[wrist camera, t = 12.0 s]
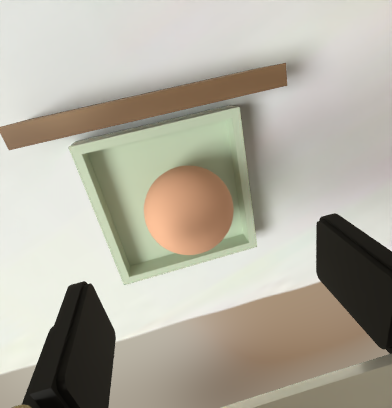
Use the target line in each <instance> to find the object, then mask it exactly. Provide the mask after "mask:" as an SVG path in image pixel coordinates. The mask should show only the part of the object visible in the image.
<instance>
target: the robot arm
mask: <svg viewBox="0 0 392 408" xmlns="http://www.w3.org/2000/svg"><path fill="white" fill-rule="evenodd" d="M316 272H317V276H318V278H319V279H320V281H321V282H322V283H323V284H324V285H325V286H326V287H327V289H328V290H329V291H330V292H331V293H332V294H333V295H334V297H335V298H336V299H337V300H338V301H339V302H340V303H341V304H342V306H343V307H344V308H345V309H346V310H347V311H348V312H349V313H350V315H351V316H352V317H353V318H354V319H355V320H356V321H357V323H358V324H359V325H360V326H361V327H362V328H363V329H364V330H365V331H366V333H367V334H368V335H369V336H370V337H371V338H372V339H373V341H374V342H375V343H376V344H377V345H378V346H379V347H380V348H382V349H386V350H387V351H388V352H389V353H390V354H389V355H386V356H382V357H379V358H376V359H373V360H369V361H367V362H363V363H360V364H357V365H354V366H351V367H347V368H344V369H341V370H337V371H334V372H331V373H328V374H325V375H321V376H318V377H315V378H312V379H309V380H306V381H302V382H299V383H296V384H293V385H290V386H287V387H284V388H281V389H277V390H274V391H271V392H268V393H265V394H262V395H259V396H255V397H252V398H249V399H246V400H243V401H240V402H237V403H234V404H231V405H227V406H224V407H222V408H392V251H390V250H389V249H387V248H386V247H384V246H383V245H381V244H380V243H379V242H377V241H376V240H374V239H373V238H371V237H370V236H368V235H367V234H365V233H364V232H363V231H361V230H360V229H358V228H357V227H355V226H354V225H352V224H351V223H350V222H348V221H347V220H345V219H344V218H342V217H341V216H339V215H338V214H336V213H334V214H330V215H326V216H323V217H321V218H320V221H318V222H317V240H316ZM115 340H116V337H115V331H114V328H113V326H112V324H111V322H110V320H109V318H108V316H107V314H106V312H105V310H104V308H103V306H102V304H101V302H100V299H99V297H98V295H97V293H96V291H95V289H94V287H93V285H92V284H87V283H86V282H85V281H84V282H80V283H76V284H73V285H70V286H69V287H68V289H67V291H66V294H65V297H64V300H63V302H62V305H61V308H60V311H59V314H58V316H57V319H56V322H55V325H54V326H53V327H52V328H51V329H50V331H49V333H48V336H47V338H46V341H45V344H44V346H43V349H42V352H41V354H40V357H39V360H38V363H37V365H36V368H35V371H34V373H33V376H32V379H31V381H30V384H29V387H28V389H27V392H26V395H25V397H24V400H23V403H22V405H18V406H14V407H12V408H108V406H109V396H110V387H111V377H112V368H113V358H114V349H115Z"/></svg>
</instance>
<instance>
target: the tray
mask: <svg viewBox="0 0 392 408" xmlns="http://www.w3.org/2000/svg"><path fill="white" fill-rule="evenodd" d="M68 148H69V150H70V153H71V155H72V158H73V160H74V162H75V165H76V167H77V170H78V172H79V175H80V177H81V180H82V182H83V185H84V187H85V190H86V192H87V195H88V197H89V200H90V202H91V205H92V207H93V209H94V212H95V214H96V217H97V219H98V222H99V224H100V227H101V229H102V232H103V234H104V237H105V239H106V242H107V244H108V247H109V249H110V252H111V254H112V256H113V259H114V261H115V264H116V266H117V269H118V271H119V274H120V276H121V279H122V281H123V284H124V285H127V284H130V283H134V282H137V281H140V280H144V279H147V278H151V277H154V276H158V275H161V274H165V273H168V272H171V271H175V270H178V269H182V268H185V267H189V266H192V265H196V264H199V263H203V262H206V261H209V260H213V259H216V258H220V257H223V256H227V255H230V254H234V253H237V252H241V251H244V250H247V249H251V248H254V247H257V242H256V234H255V226H254V218H253V210H252V202H251V194H250V186H249V178H248V170H247V162H246V154H245V146H244V138H243V130H242V122H241V114H240V107H238V106H231V105H229V106H224V107H220V108H216V109H212V110H207V111H203V112H199V113H195V114H190V115H186V116H182V117H178V118H173V119H169V120H165V121H161V122H156V123H152V124H148V125H144V126H139V127H135V128H131V129H127V130H122V131H118V132H114V133H110V134H105V135H101V136H97V137H93V138H88V139H84V140H80V141H76V142H74V143H73V144H72V145H71V146H69V147H68ZM186 165H187V166H199V167H202V168H205V169H207V170H209V171H211V172H213V173H214V174H216V175H217V176H218V177H219V178H220V179H221V180H222V181H223V182H224V183H225V185H226V186H227V188H228V190H229V192H230V194H231V197H232V201H233V208H234V212H233V220H232V224H231V227H230V229H229V231H228V233H227V234H226V236H225V237H224V239H223V240H222V241H221V242H220V243H219V244H218V245H216V246H215V247H214V248H212V249H211V250H209V251H207V252H204V253H200V254H196V255H181V254H177V253H174V252H171V251H169V250H167V249H165V248H164V247H162V246H161V245H160V244H159V243H157V242H156V240H155V239H154V238H153V237H152V235H151V234H150V232H149V230H148V228H147V225H146V222H145V218H144V203H145V198H146V195H147V193H148V191H149V188H150V187H151V185H152V184H153V183H154V181H155V180H156V179H157V178H158V177H159V176H160V175H162V174H163V173H165V172H166V171H168V170H170V169H173V168H175V167H179V166H186Z"/></svg>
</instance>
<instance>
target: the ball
mask: <svg viewBox="0 0 392 408" xmlns="http://www.w3.org/2000/svg"><path fill="white" fill-rule="evenodd" d="M233 212H234V208H233V201H232V197H231V194H230V192H229V190H228V188H227V186H226V185H225V183H224V182H223V181H222V180H221V179H220V178H219V177H218V176H217V175H216V174H214V173H213V172H211V171H209V170H207V169H205V168H202V167H199V166H187V165H186V166H179V167H175V168H173V169H170V170H168V171H166V172H165V173H163V174H162V175H160V176H159V177H158V178H157V179H156V180H155V181H154V183H153V184H152V185H151V187H150V188H149V191H148V193H147V195H146V198H145V203H144V218H145V222H146V225H147V228H148V230H149V232H150V234H151V235H152V237H153V238H154V239H155V240H156V242H157V243H159V244H160V245H161V246H162V247H164V248H165V249H167V250H169V251H171V252H174V253H177V254H181V255H196V254H200V253H204V252H207V251H209V250H211V249H212V248H214V247H215V246H216V245H218V244H219V243H220V242H221V241H222V240H223V239H224V237H225V236H226V234H227V233H228V231H229V229H230V227H231V224H232V220H233Z"/></svg>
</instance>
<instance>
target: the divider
mask: <svg viewBox="0 0 392 408" xmlns="http://www.w3.org/2000/svg"><path fill="white" fill-rule="evenodd" d="M283 86H287V74H286V63H283V64H278V65H273V66H267V67H262V68H257V69H252V70H248V71H243V72H239V73H234V74H230V75H225V76H221V77H216V78H212V79H208V80H203V81H199V82H194V83H190V84H185V85H181V86H176V87H172V88H167V89H163V90H158V91H154V92H149V93H145V94H140V95H136V96H132V97H127V98H123V99H118V100H114V101H109V102H105V103H100V104H96V105H91V106H87V107H82V108H78V109H73V110H69V111H65V112H60V113H56V114H51V115H47V116H42V117H38V118H33V119H29V120H25V121H21V122H17V123H13V124H10V125H6V126H2V127H0V133H1V135H2V137H3V139H4V141H5V143H6V145H7V147H8V149H9V150H12V149H16V148H21V147H25V146H29V145H34V144H38V143H42V142H46V141H51V140H55V139H59V138H64V137H68V136H72V135H77V134H81V133H85V132H89V131H94V130H98V129H102V128H107V127H111V126H115V125H119V124H124V123H128V122H132V121H137V120H141V119H145V118H150V117H154V116H158V115H162V114H167V113H171V112H175V111H180V110H184V109H188V108H193V107H197V106H201V105H205V104H210V103H214V102H218V101H223V100H227V99H231V98H235V97H240V96H244V95H248V94H253V93H257V92H261V91H266V90H270V89H274V88H278V87H283Z"/></svg>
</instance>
